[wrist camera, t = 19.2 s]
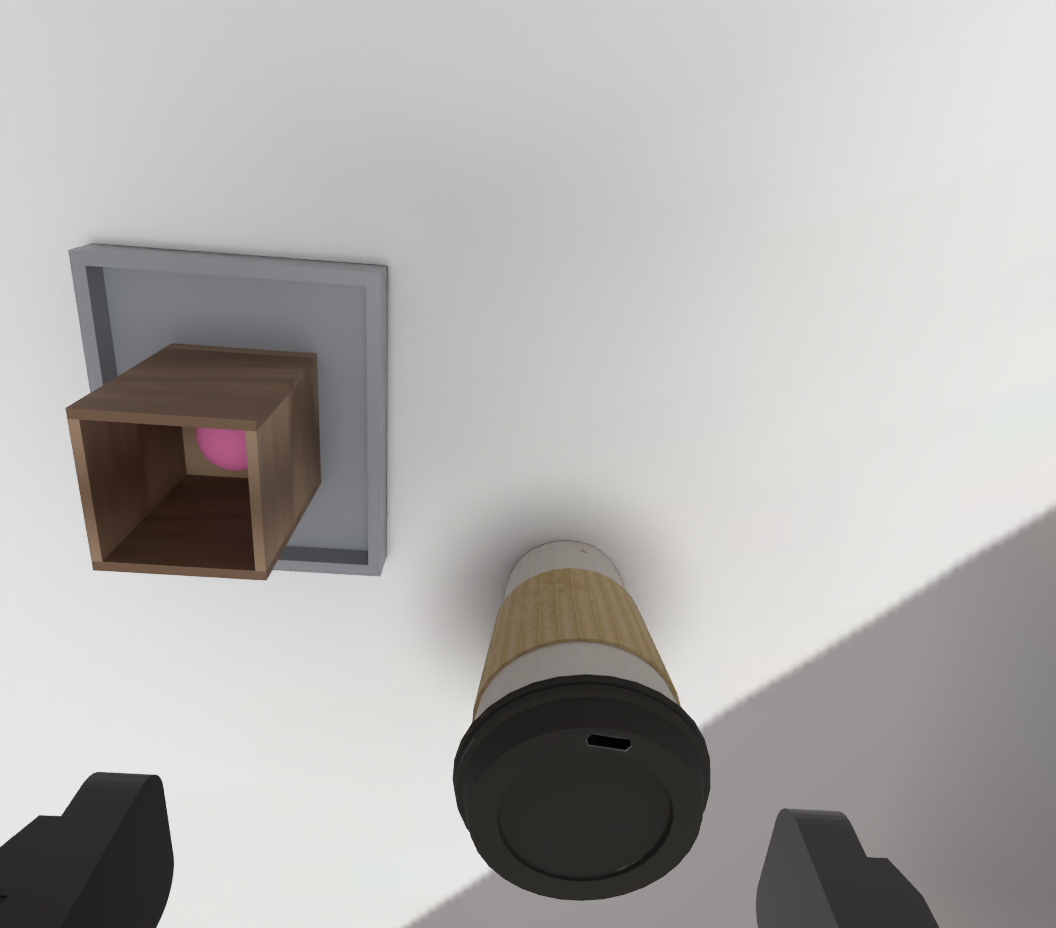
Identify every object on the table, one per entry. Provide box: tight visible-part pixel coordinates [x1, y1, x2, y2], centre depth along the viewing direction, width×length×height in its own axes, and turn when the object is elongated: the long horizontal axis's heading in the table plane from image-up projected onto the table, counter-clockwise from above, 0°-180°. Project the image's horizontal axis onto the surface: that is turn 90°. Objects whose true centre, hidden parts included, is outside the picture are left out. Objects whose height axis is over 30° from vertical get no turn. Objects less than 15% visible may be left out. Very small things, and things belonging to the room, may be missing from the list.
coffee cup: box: [453, 541, 710, 901], centre depth 35 cm, size 10×10×15 cm
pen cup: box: [66, 343, 321, 580], centre depth 33 cm, size 7×7×9 cm
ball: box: [196, 427, 248, 471], centre depth 35 cm, size 3×3×3 cm
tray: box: [68, 244, 388, 576], centre depth 37 cm, size 15×13×2 cm
